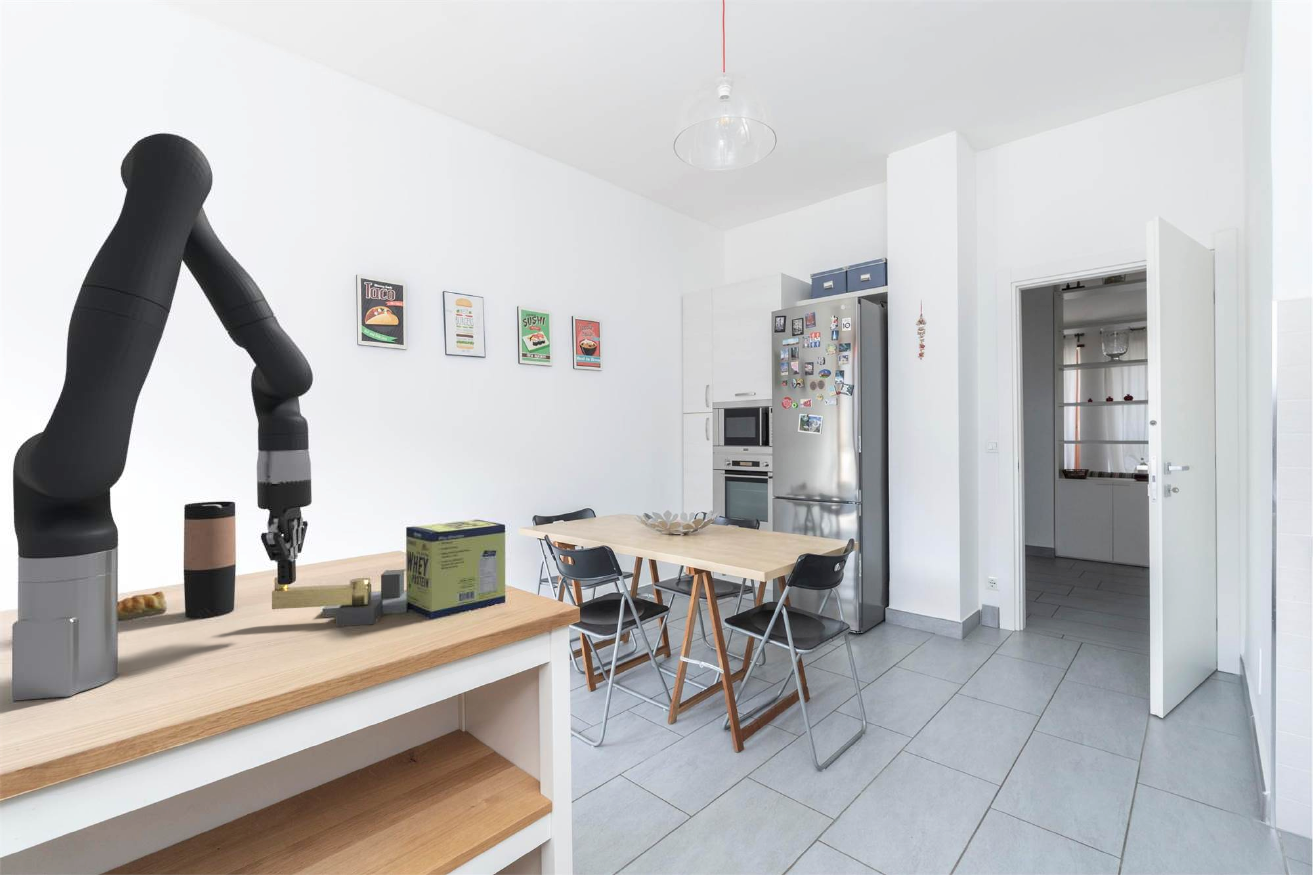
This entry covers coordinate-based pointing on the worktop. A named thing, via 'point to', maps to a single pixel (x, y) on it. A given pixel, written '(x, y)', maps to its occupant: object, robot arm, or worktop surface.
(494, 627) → the worktop surface
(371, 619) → the plate
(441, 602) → the protein box
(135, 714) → the worktop surface
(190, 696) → the worktop surface
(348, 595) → the bar
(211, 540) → the travel mug
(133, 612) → the pastry
